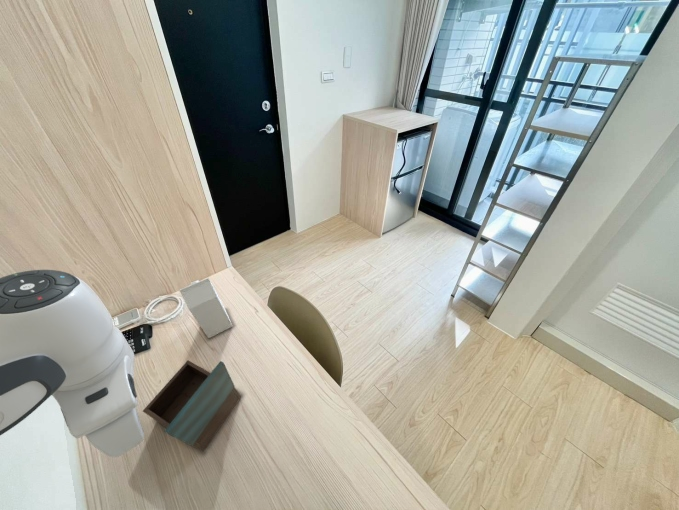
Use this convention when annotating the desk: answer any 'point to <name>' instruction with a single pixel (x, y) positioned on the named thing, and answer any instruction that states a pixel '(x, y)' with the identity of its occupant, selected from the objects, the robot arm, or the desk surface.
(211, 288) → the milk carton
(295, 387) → the desk surface
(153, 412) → the tray box
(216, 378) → the cover
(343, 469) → the desk surface
